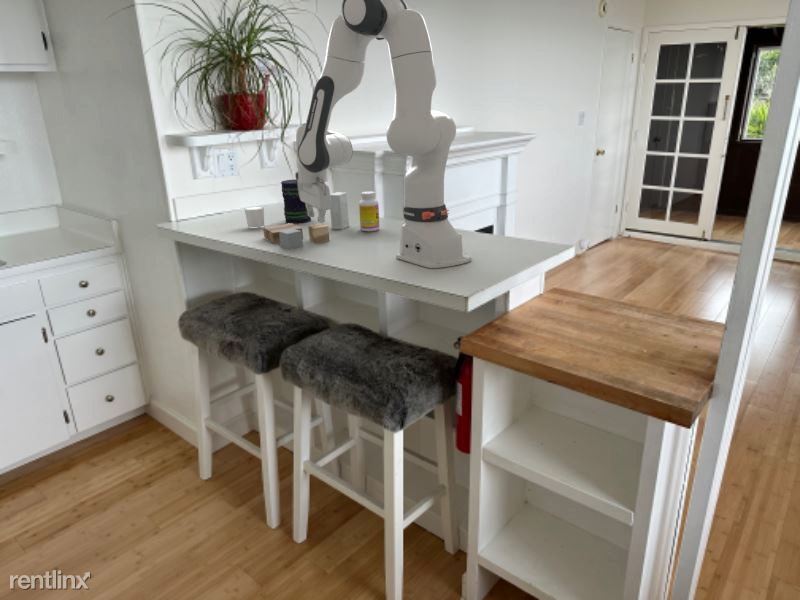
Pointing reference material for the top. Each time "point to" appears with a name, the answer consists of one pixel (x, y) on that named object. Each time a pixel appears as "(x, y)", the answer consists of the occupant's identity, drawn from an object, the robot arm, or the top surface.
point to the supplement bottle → (369, 212)
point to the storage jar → (293, 203)
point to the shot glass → (255, 216)
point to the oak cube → (318, 233)
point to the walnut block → (273, 231)
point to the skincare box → (339, 210)
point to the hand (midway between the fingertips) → (316, 219)
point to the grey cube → (290, 238)
